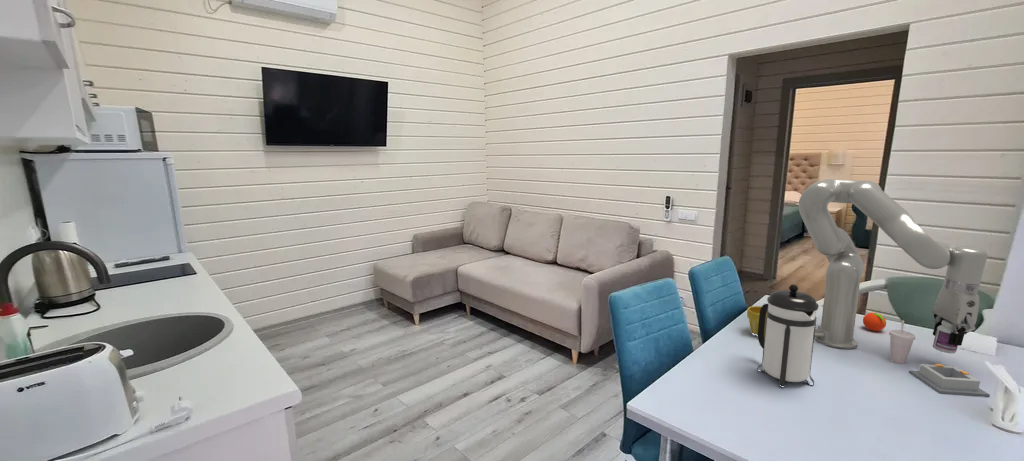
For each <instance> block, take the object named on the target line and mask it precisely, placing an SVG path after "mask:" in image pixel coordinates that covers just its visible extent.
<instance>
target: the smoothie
mask: <svg viewBox="0 0 1024 461" xmlns="http://www.w3.org/2000/svg"><path fill="white" fill-rule="evenodd" d="M904 325H905V320H904V319H902V320H901V325H900V326H901V327H900V329H891V330H889V333H888V334H889V336H890V337H889V339H890V340H889V342H890V344H889V345H890V361H892V362H894V363H897V364H902V365H903V364H907V360H908V358H909V355H910V351H911V349H912V346H913V343H914V341H915V340H916V335H915V334H913V333H911V332H910V331H909V332H908V331H905V330H904V328H905V327H904Z"/></svg>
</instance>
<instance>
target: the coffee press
mask: <svg viewBox="0 0 1024 461" xmlns="http://www.w3.org/2000/svg"><path fill="white" fill-rule="evenodd" d="M766 300H767V303H764V304H762V305H761V309H760V314H759V324H758V337H757V339H758V343H759V346H760V347H761V348H762V349H763V350H762V358H761V359H762V360H761V361H762V362H761V363H760V365H758V367H756V370H757V369H760V367H762V368H763V369H764V371H763V372H765V373H767V374H768V375H770V376H771V377H774V378H776V379H777V380H779V383H778V386H779V385H781V386H784V385H785V386H786V382H792V383H799V382H805V383H806V384H808V382H809V380H807V379H808V378H809V379H810V381H811V383H813V386H814V384H815V380H814V379H813V377H812V375H811V374H810V372H811V369H812V364H811V363H813V362H812V360H813V359H812V358H813V355H812V354H813V352H814V346H813V345H815V344H814V343H815V337H814V336H813V335H815V329H816V324H817V311H818V310H819V306H820V305H819V303H818V302H817V300H816V299H815V298H814V297H813V296H811V295H810V294H808V293H805V292H802V291H799V287H798V286H797V285H796V284H791V285H790V286H789V287H788V289H780V290H776V291H772V292H771V293H770V295H769V296H768V297H767V299H766ZM766 312H767V316H766ZM765 319H766V326H765ZM764 330H765V336H764Z"/></svg>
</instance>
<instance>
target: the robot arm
mask: <svg viewBox="0 0 1024 461" xmlns="http://www.w3.org/2000/svg"><path fill="white" fill-rule="evenodd" d="M830 203H837V204H838V203H839V204H850V205H851V204H853V205H854V207H856V208H857V209H859V211H861V212H862V213H863V214H864V215H865V216H866V217H867V218H868V219H870V220H871V221H872V222H873V223H874V224H875V225H877V227H879V228H880V230H881V231H883V233H884V234H886V236H888V237H889V238H890V239H891V240H892V241H893V242H894V243H895V244H896V245H898V246H899V248H901V250H902V251H904V253H906V254H907V255H908V256H909V257H911V258H912V259H913V260H914V261H915V262H916V263H917V264H918V265H920V266H921V267H923V268H926V269H929V270H940V269H943V268H945V267H947V268H946V272H945V277H944V279H943V283H942V287H941V288H940V290H939V293H938V295H937V297H936V300H935V303H934V306H933V307H932V308H931V309H930V310H931V312H932V315H933V318H934V321H933V322H934V328H933V331H932V335H933V336H934V337H935V335H936V331H937V327H938V326H940V325H942V324H941V323H942V320H948V321H950V322H952V323H953V332H951V334H950V338H949V342H948V344H950V345H958V346H959V347H960V346H962V344H963V341H964V337H965V335H967V333H970V332H971V331H975V330H976V326H975V325H976V324H977V321H978V319H977V318H978V316H979V315H978V314H979V307H980V296H979V294H978V292H979V288H980V286H981V282H982V278H983V275H984V270H985V266H986V264H987V260H988V256H989V255H988V251H986V250H985V249H982V248H979V247H974V246H967V245H966V246H965V245H956V244H950V243H947V242H942V241H936V240H935V239H934V238H933V237H931V236H930V235H929V234H928V233H926V232H925V231H924V230H923V229H922V228H921V227H920V225H918V223H917V222H916V221H915V219H914V217H913V216H912V215H911V214H910V212H908V211H907V209H906V208H904V207H903V206H902V205H900V204H899V203H897V201H895V200H894V199H893V198H892V197H890V196H889V195H888V194H887V193H886V192H885V191H884V190H882V188H881V186H880V185H879V184H878V183H877V182H875V181H872V180H855V179H851V180H849V179H822V180H817V181H816V182H813V183H812V184H810V185H809V186H808V187H807V188H806V189H805V190H804V191H803V193H802V194H801V196H800V198H799V200H798V211H799V214H800V217H801V219H802V222H803V223H804V226H805V227H806V230H807V231H808V235H809V236H810V238H811V240H812V243H813V245H814V247H815V248H816V250H817V251H818V252H819V254H821V255H824V256H825V257H826V259H827V260H828V262H829V263H828V265H827V268H826V272H825V284H824V286H825V287H824V297H823V306H822V313H821V323H820V325H819V326H817V328H814V329H815V335H813V337H814V340H816V341H817V342H819V343H820V344H822V345H825V346H828V347H832V348H835V349H836V348H837V349H844V350H852V349H856V348H857V347H858V345H859V343H858V341H857V340H856V339H855V338H854V332H855V326H856V325H855V324H856V319H857V318H856V317H857V308H858V301H859V293H860V285H861V279H862V278H861V277H862V275H863V272H864V271H865V270H864V268H865V264H864V262H863V259H862V257H861V255H860V253H859V251H858V250H857V248H856V246H855V244H854V242H853V240H852V238H851V236H850V235H849V234H848V232H847V231H846V230H845V229H843V228H841V227H838V226H837V223H836V222H835V220H834V217H833V216H832V214H831V213H830V211H829V208H828V205H829V204H830ZM958 325H959V326H960V327H959V328H958Z"/></svg>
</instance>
